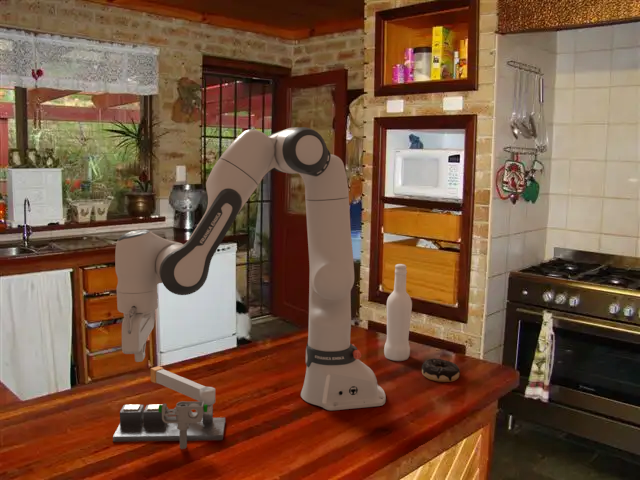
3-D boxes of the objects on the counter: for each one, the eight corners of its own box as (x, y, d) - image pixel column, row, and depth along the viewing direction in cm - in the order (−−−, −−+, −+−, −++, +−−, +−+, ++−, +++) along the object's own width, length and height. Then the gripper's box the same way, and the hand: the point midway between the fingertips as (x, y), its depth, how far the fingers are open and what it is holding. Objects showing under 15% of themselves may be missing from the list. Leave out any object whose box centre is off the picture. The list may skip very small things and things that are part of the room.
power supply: (166, 418, 147) (166, 403, 146) (164, 425, 143) (163, 410, 142) (147, 418, 147) (146, 403, 146) (143, 426, 143) (143, 410, 142)
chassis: (225, 422, 148) (225, 400, 147) (222, 440, 139) (222, 416, 139) (122, 423, 146) (121, 400, 145) (113, 441, 137) (112, 417, 137)
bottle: (408, 362, 192) (413, 267, 188) (382, 360, 194) (386, 266, 189) (410, 354, 200) (415, 263, 196) (385, 352, 202) (389, 261, 197)
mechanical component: (160, 444, 137) (160, 401, 135) (207, 443, 138) (207, 400, 136) (158, 451, 134) (157, 407, 132) (206, 450, 135) (206, 406, 133)
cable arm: (218, 402, 145) (218, 388, 145) (206, 407, 143) (206, 393, 142) (160, 378, 159) (160, 365, 159) (148, 381, 157) (148, 369, 156)
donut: (422, 382, 178) (423, 369, 177) (419, 367, 189) (420, 355, 189) (461, 384, 177) (462, 371, 176) (456, 369, 188) (457, 357, 188)
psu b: (143, 418, 146) (143, 403, 146) (140, 426, 143) (140, 410, 142) (124, 418, 146) (123, 403, 145) (120, 426, 142) (119, 410, 142)
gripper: (143, 313, 131) (146, 375, 134) (158, 290, 152) (160, 345, 154) (112, 314, 131) (115, 376, 133) (132, 291, 151) (134, 346, 153)
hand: (140, 359), depth 144 cm, fingers closed
